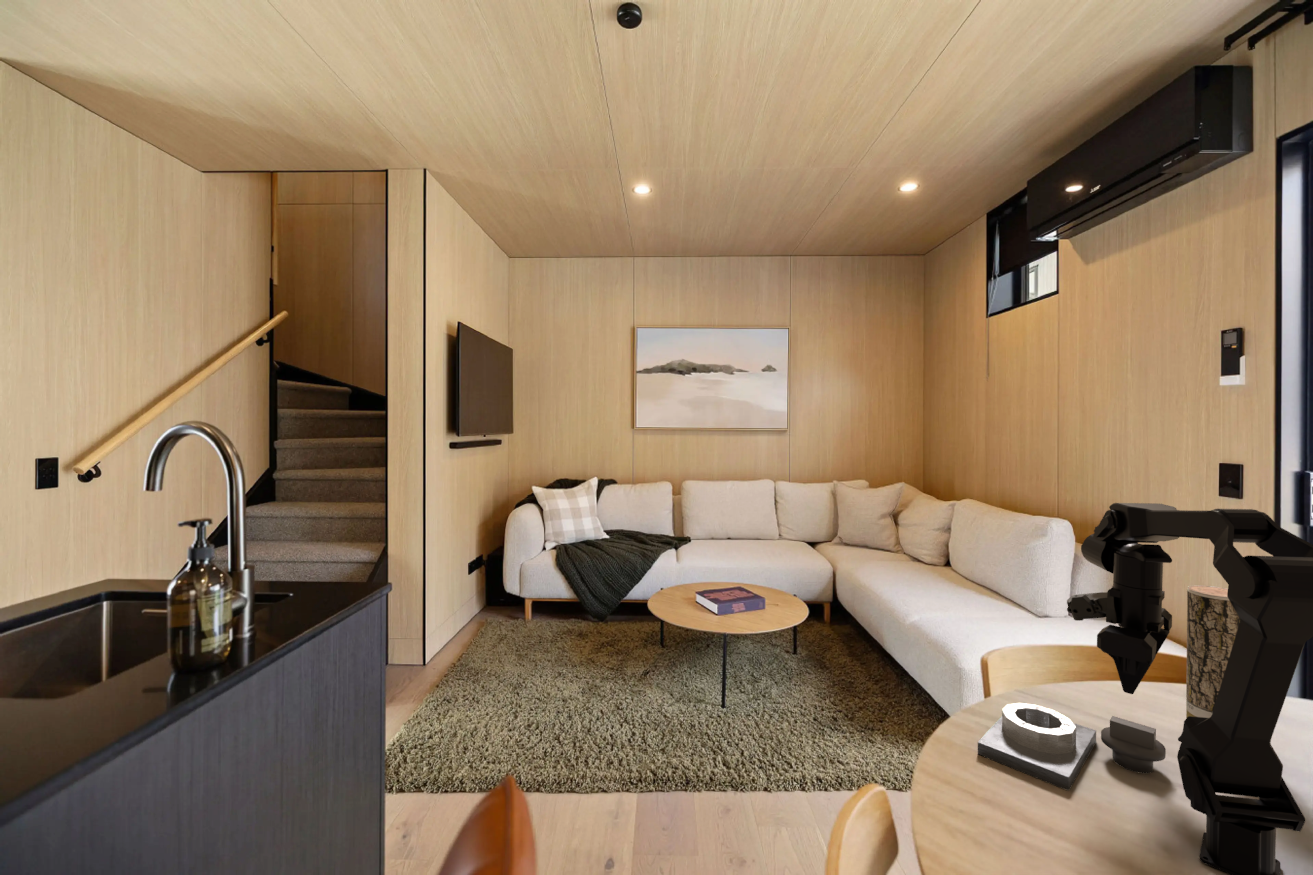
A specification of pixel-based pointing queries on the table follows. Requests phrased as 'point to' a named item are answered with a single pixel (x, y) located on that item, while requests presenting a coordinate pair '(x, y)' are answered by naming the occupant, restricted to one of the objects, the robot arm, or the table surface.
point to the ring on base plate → (1038, 743)
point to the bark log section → (1207, 646)
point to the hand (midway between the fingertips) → (1134, 682)
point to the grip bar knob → (1133, 745)
